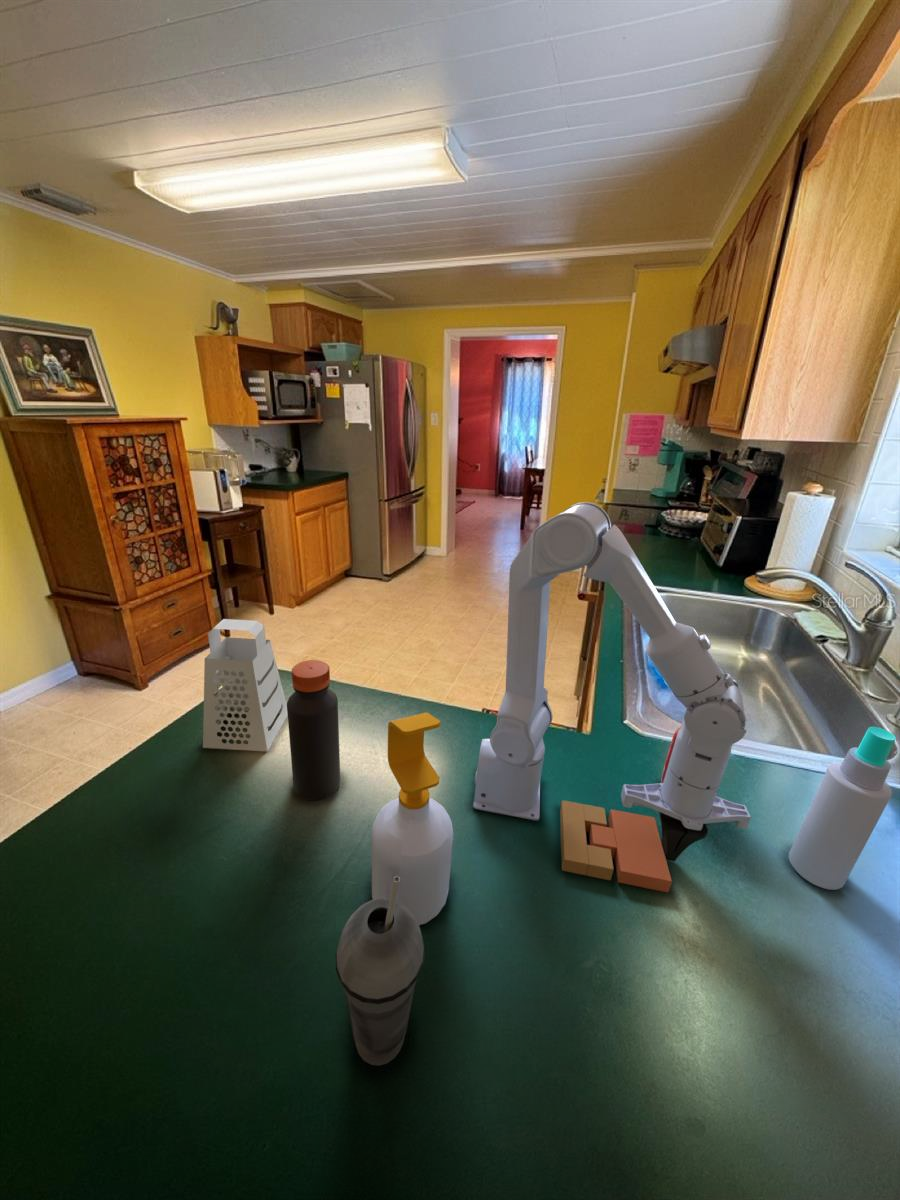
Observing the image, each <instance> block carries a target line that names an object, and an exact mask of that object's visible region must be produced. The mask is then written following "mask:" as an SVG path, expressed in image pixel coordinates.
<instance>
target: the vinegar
mask: <svg viewBox="0 0 900 1200" xmlns="http://www.w3.org/2000/svg"><path fill="white" fill-rule="evenodd" d="M330 671H331V670H330V665H329V664H328V663H327V662H325V661H322V660H319V659H309V660H303V661H300V662H298V663H296V664H295V665H293V666H292V668H291V682H292V688H293V691H294V692H293V693H292V694H290V696H289V697H288V699H287V700H286V704H287V713H288V716H287V724H288V726H287V727H288V737H289V748H290V761H291V775H292V785H293V791H294V792H295V794H296V795H297V796H298V797H299V798H300V799H302V800H305V801H306V800H307V801H320V800H323V799H326V798H328V797H329V796H331V795H333V794H334V793H335V792H336V791H337V789H338V788H339V786H340V785H341V784H340V783H341V757H340V729H339V726H340V725H339V699H338V696H337V693H335V692H334V690H332V689H331V688H329V687H330V684H331V673H330Z"/></svg>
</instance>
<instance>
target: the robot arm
mask: <svg viewBox="0 0 900 1200" xmlns="http://www.w3.org/2000/svg"><path fill="white" fill-rule="evenodd" d="M585 566H586V567H588V568H587V570H586V571H585V572H584V573H583V575H582V576H583V577H585V578H586V579H591V580H595V581H599V582H602V583H604V582H605V583H608V585H610V586H611V588H612V589H613V590H614V591H615V592H616V594H617V595H618V597H619V598H620V600H621V601H622V602H623V603H624V605H625V607H626V608H627V609H628V611H629V612H630V613H631V614H632V616H633V617H634V618H635V620H636V622H637V623H638V624H639V625H640V627H641V628H642V630H643V631H644V632H645V633H646V635H647V637H648V638H649V640H648V642H647V646H646V650H645V651H646V654H647V656H648V657H649V659H650V661H651V662H652V664H653V666H654V667H655V668H656V670H657V671H658V673H659V675H660V676H661V677H662V679H663V680H664V681H665V684H666V685H667V686H668V688H669V689H670V692H672V694H673V696H674V697H675V698H676V700H677V701H679V703H681V704H682V705H683V706H684V707H685V713H684V715H683V721H682V723H683V724H682V723H681V724H682V727H681V726H680V727H681V728H680V730H679V731H678V734H677V737H676V740H675V744H674V747H673V751H672V754H671V758H670V761H669V764H668V768H667V771H666V775H665V778H664V781H663V783H661V782H659V783H657V782H656V783H648V784H647V783H645V784H626V783H623V785H622V789H621V793H620V799H621V804H622V807H624V808H629V809H631V808H632V807H633V806H639V807H644V808H649V809H652V810H654V811H656V812H658V814H659V818H660V825H661V843H662V847H663V850H664V854H665V858H666V861H672V862H675V861H676V860H677V859H678V858H679V857H680V856H681V854H683V852H684V851H685V850H686V849H687V848H688V847H690V846H691V845H692V844H694V843H696V842H698V841H700V840H703V839H705V838H706V837H707V835H708V832H709V829H708V825H707V824H716V823H717V824H718V823H732V824H735V826H736V827H737V828H739V829H743V830H747V829H748V826H749V824H750V821H751V819H752V817H751V815H750V813H749V811H748V808H747V807H746V804H740V803H737V802H733V801H730V800H727V799H724V798H722V797H720V796H717V794H718V791H719V789H720V785H721V783H722V780H723V777H724V774H725V771H726V769H727V767H728V763H729V760H730V757H731V754H732V748H733V745H735V744H737V743H738V742H740V741H741V740H742V739H743V738H744V737H745V736H746V734H747V729H745V727H746V721H747V720H746V714H745V708H744V701H743V700H744V699H743V696H742V692H741V690H740V688H739V683H738V682H737V681H736V680H734V679H733V677H732V675H731V674H730V673H728V672H727V673H724V672H723V670H722V669H721V666H720V665H719V664H718V663H717V661H716V659H715V657H714V656H713V655H712V653H711V652H710V649H711V648H712V646H711V645H712V644H711V641H710V639H709V638H708V636H707V635H706V634H705V633H703V634H701V635H699V634H698V632H697V631H696V629H695V628H694V627H693V626H690V625H687V624H684V623H681V622H677V621H676V620H675V619H674V617H673V615H672V613H671V611H670V610H669V608H668V606H667V605H666V603H665V602H664V600H663V598H662V597H661V595H660V593H659V592H658V590H657V588H656V586H655V585H654V583H653V582H652V580H651V578H650V577H649V575H648V573H647V571H646V570H645V568H644V567H643V565H642V564H641V561H640V560H639V558H638V557H637V555H636V553H635V552H634V550H633V548H632V547H631V545H630V543H629V542H628V540H627V538H626V537H625V535H624V534H623V532H622V531H621V529H620V528H618V526H617V525H616V524H615V523H614V524H613V525H612V522H611V519H610V516H609V514H608V513H607V512H606V510H605V509H604V508H603V507H602V506H600V505H599V504H596V503H593V502H588V501H582V502H578V503H575V504H573V505H571V506H569V507H568V508H566V509H565V510H563V511H561V512H560V513H558V514H556V515H554V516H552V517H550V518H549V519H548V520H546V521H544V522H543V523H542V524H540V525H538V526H537V527H535V528H534V529H533V530H532V533H531V535H530V537H529V538H528V540H527V541H526V543H524V545H523V547H522V548H521V549H520V551H519V552H518V553H517V555H516V556H515V558H514V559H513V560H512V562H511V563H510V567H509V578H508V579H509V580H508V581H509V582H508V607H507V608H508V611H507V636H506V637H507V638H506V639H507V640H506V664H505V665H506V668H505V669H506V670H505V691H504V694H503V697H502V699H501V703H500V705H499V709H498V710H497V711H498V712H497V715H496V725H495V726H494V728H493V729H492V730H491V732H490V736H489V738H482V739H481V744H480V748H479V753H478V760H477V767H476V768H477V769H476V771H475V775H474V782H473V783H474V784H475V788H474V795H473V796H474V798H473V803H472V807H473V808H474V809H475V810H479V811H484V812H489V813H495V814H499V815H505V816H510V817H516V818H519V819H520V818H521V819H526V820H531V821H535V822H536V821H539V820H540V816H541V815H540V814H541V813H540V812H541V811H540V810H541V809H540V808H541V804H540V803H541V799H540V798H541V778H542V772H543V765H544V760H545V753H546V747H545V742H544V738H543V737H544V736H545V733H546V732H547V729H549V728H550V726H551V724H552V722H553V718H554V717H553V711H552V708H551V706H550V703H549V700H548V694H549V691H548V689H547V688H546V687H545V675H546V659H547V644H548V643H547V642H548V628H549V627H548V626H549V613H550V597H551V584H552V583H551V582H552V581H553V580H554V579H555V578H557V577H559V576H560V575H561V574H565V573H570V572H573V571H576V570H579V569H581V568H583V567H585Z"/></svg>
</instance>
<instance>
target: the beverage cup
mask: <svg viewBox="0 0 900 1200" xmlns="http://www.w3.org/2000/svg"><path fill="white" fill-rule="evenodd" d="M399 883H400V877H398V876H396V877H394V880H393V885H392V890H391V895H390V899H388V898H379V899H374V900H373V899H370V900H369V901H367V902H365V903H363V904H361V905H360V906H359V907H358V908H356V910H355V911H354V912H353V913H352V914H351V915H350V917H349V918H348V919H347V921H346V923H345V925H344V926H343V928H342V931H341V934H340V938H339V942H338V945H337V949H336V952H335V971H336V975H337V977H338V980H339V984H340V985H341V986H342V989H343V992H344V995H345V1000H346V1004H347V1005H346V1006H347V1012H348V1016H349V1022H350V1026H351V1033H352V1037H353V1040H354V1043H355V1047H356V1051H357V1053H358V1055H359V1056H360V1057H361V1059H362V1060H363V1061H364V1062H365V1063H367V1064H369V1065H371V1066H382V1065H387V1064H388V1063H390V1062H391V1061H393V1060H394V1059H395V1058H396V1057H397V1056H398V1054H399V1053H400V1052H401V1049H402V1046H403V1045H404V1041H405V1036H406V1034H407V1030H408V1025H409V1019H410V1014H411V1009H412V1004H413V998H414V997H413V996H414V992H415V988H416V983H417V980H418V979H419V976H420V973H421V971H422V969H423V966H424V960H425V953H426V949H425V944H424V939H423V938H424V937H423V934H422V930H421V927H420V925H419V924H418V922H417V921H416V919H415V917H414V915H413V913H412V912H411V911H410V910H409V909H408V908H407V907H406V906H405V905H404V904H402V903H400V902H398V901H396V899H397V894H398V888H399Z"/></svg>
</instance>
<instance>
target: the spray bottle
mask: <svg viewBox="0 0 900 1200" xmlns="http://www.w3.org/2000/svg"><path fill="white" fill-rule="evenodd" d="M896 740H897V737H896V735H894V734H893V733H892V732H890V731H888V730H886V729H884V728H881V727H878V726H869V727H868V728H867V729H866V732H865V734H864V735H863V738H862V739H861V742H860V743H859V745H858V747H856V746H855V747H850V748H849V750H848V751H847V753H846V754H845V756H844V759H843V760H842V761H834V762H831V763H829V765H828V766H827V768H826V771H825V773H824V775H823V777H822V780H821V782H820V783H819V786H818V788H817V791H816V792H815V795H814V797H813V799H812V802H811V804H810V805H809V808H808V809H807V812H806V814H805V817H804V818H803V821H802V823H801V826H800V827H799V830H798V832H797V835H796V837H795V839H794V841H793V843H792V846H791V848H790V850H789V852H788V860H789V862H790V864H791V866H792V868H793V869H794V870H795V872H797V873H798V875H800V877H802V878H803V879H804V880H806V881H808V882H809V883H810V884H812V885H815V886H817V887H818V888H822V889H823V890H824V889H825V890H831V891H836V890H840V889H842V888H843V887H844V886H845V884H846V882H847V880H848V878H849V877H850V875H851V872H852V871H853V870H854V867H855V865H856V864H857V862H858V860H859V857H860V856H861V854H862V852H863V850H864V848H865V847H866V844H867V843H868V841H869V839H870V837H871V835H872V834H873V831H874V830H875V828H876V826H877V824H878V822H879V820H880V819H881V816H882V815H883V813H884V811H885V809H886V807H887V805H888V803H889V801H890V799H891V797H892V796H893V790H892V788H891V786H890V784H888V782H887V781H886V780H887V778H888V775H889V772H890V770H891V769H892V768H891V767H892V765H891V763H890V761H888V760H887V759H888V756H889V754H890V752H891V750H892V749H893V746H894V744H895V741H896Z"/></svg>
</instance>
